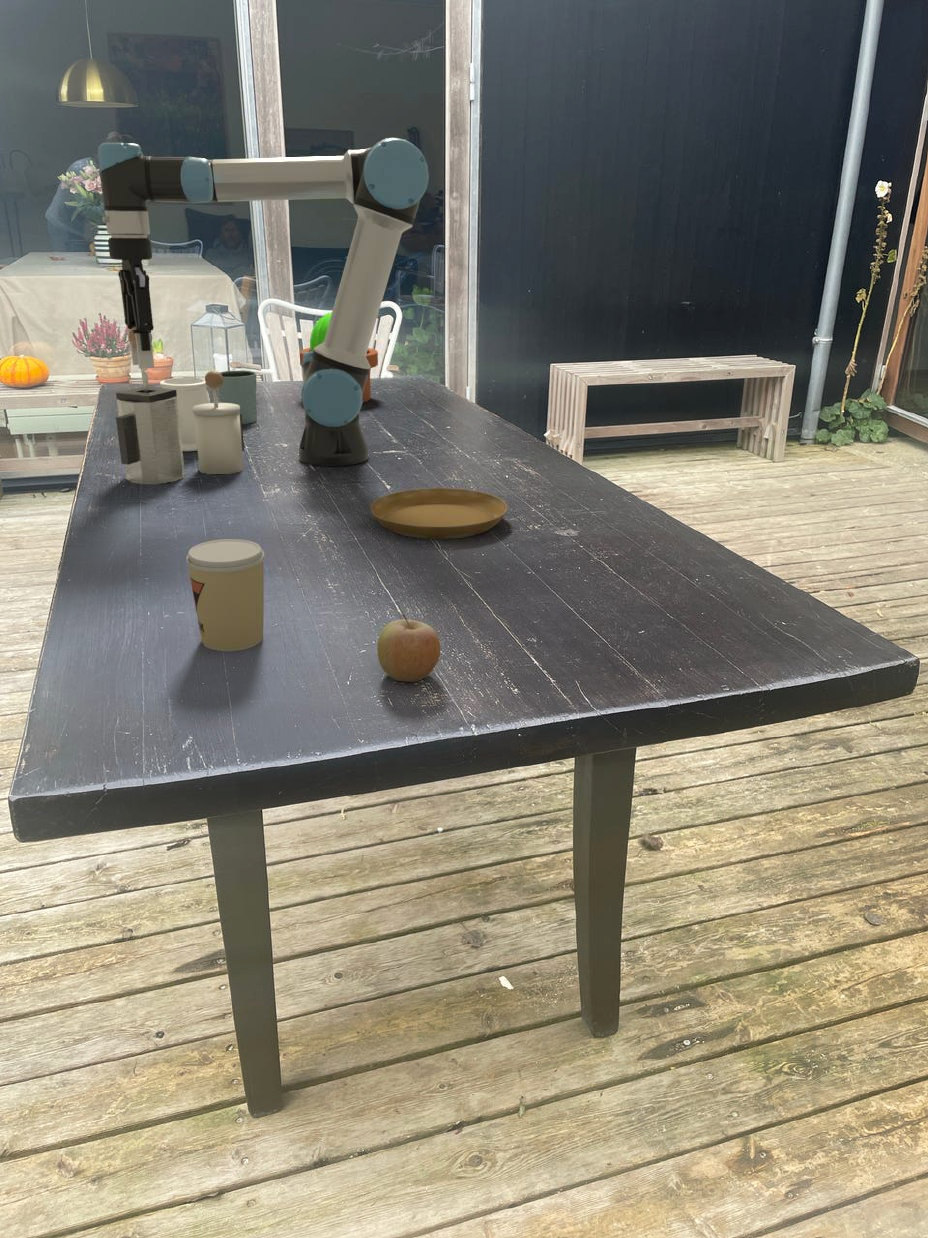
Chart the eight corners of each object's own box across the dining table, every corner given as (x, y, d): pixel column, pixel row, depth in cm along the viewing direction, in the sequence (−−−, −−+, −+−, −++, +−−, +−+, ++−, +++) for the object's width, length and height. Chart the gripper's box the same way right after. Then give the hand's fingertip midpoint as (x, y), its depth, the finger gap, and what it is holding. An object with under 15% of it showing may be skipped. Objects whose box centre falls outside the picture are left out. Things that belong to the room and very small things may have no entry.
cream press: (260, 464, 204) (253, 367, 196) (226, 477, 194) (218, 375, 186) (224, 459, 208) (216, 364, 200) (189, 471, 198) (179, 371, 190)
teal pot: (267, 420, 247) (264, 372, 242) (239, 426, 239) (235, 377, 234) (239, 415, 252) (235, 368, 247) (210, 421, 244) (206, 373, 239)
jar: (201, 454, 212) (195, 385, 206) (158, 451, 213) (151, 383, 208) (222, 444, 221) (216, 378, 215) (180, 441, 223) (174, 376, 217)
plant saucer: (346, 533, 163) (345, 515, 162) (405, 498, 183) (405, 481, 182) (478, 553, 155) (478, 533, 154) (524, 513, 175) (525, 496, 174)
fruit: (365, 683, 111) (364, 620, 108) (392, 658, 117) (391, 598, 114) (425, 695, 109) (426, 631, 105) (449, 669, 115) (450, 608, 112)
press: (195, 473, 196) (187, 389, 189) (150, 490, 184) (139, 400, 178) (152, 467, 200) (142, 384, 193) (105, 483, 188) (93, 395, 182)
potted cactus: (303, 392, 284) (299, 304, 274) (377, 392, 286) (376, 305, 276) (300, 407, 264) (295, 312, 254) (379, 406, 266) (378, 313, 256)
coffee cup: (201, 625, 126) (193, 538, 121) (273, 623, 126) (267, 537, 122) (188, 655, 117) (179, 563, 112) (265, 653, 118) (259, 562, 113)
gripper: (97, 234, 181) (113, 361, 190) (118, 237, 167) (134, 373, 176) (138, 234, 184) (151, 358, 193) (162, 237, 170) (175, 371, 180)
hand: (143, 365), depth 185 cm, fingers closed on plunger, 4 cm apart
